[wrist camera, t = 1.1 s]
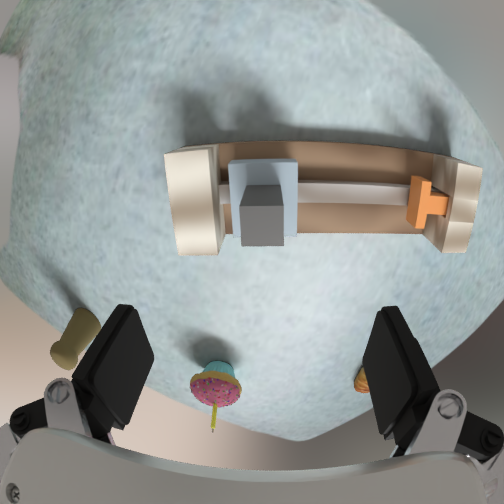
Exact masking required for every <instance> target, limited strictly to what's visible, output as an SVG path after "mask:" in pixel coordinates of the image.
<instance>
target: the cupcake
mask: <svg viewBox="0 0 504 504" xmlns="http://www.w3.org/2000/svg"><path fill="white" fill-rule="evenodd" d="M190 388H191V393H193V394H194V396H195V397H196V399H198V400H199V401H200V402H202V403H205V404H206V405H209V406H213V412H212V422H211V428H212V433H213V431H214V428H215V423H216V413H217V407H222V406H223V407H224V406H228V405H230V404H231V405H232V404H233V403H235V402H236V401H238V398H240V394H241V391H242V388H241V385H240V384H239V382H238V380H237V379H236V378H235V375H234V370H233V368H232V367H231V366H230V365H229V364H227V363H225V362H221V361H213V362H210V363H209V364H208V365H207V366H206V367H205V369H204V370H203V372H202V373H200V374H195V375H194V376H193V377H192V379H191V381H190Z"/></svg>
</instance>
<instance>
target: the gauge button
mask: <svg viewBox="0 0 504 504" xmlns="http://www.w3.org/2000/svg"><path fill="white" fill-rule="evenodd" d="M431 184H432V182H431V181H429V180H427V179H425V178H423V177H421V176H411V185H410V194H409V201H408V208H407V215H406V220H407V221H408V222H409V223H410V224H411V225H412V226H413V227H414V228H419V229H424V227H425V222H426V217H427V214H437V215H446V213H447V208H448V202H449V196H450V195H448V194H446V193H437V192H431Z"/></svg>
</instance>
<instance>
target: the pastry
mask: <svg viewBox="0 0 504 504" xmlns="http://www.w3.org/2000/svg"><path fill="white" fill-rule="evenodd" d="M354 388H355V390H356V391H357V392H361V393H368V392H370V391H369V387H368V383H367V379H366V376H365V372H364V368H363V367H362V368H361V370H360V372H359V373H358V375H357V377H356V379H355V381H354Z"/></svg>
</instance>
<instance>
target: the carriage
mask: <svg viewBox="0 0 504 504" xmlns="http://www.w3.org/2000/svg"><path fill="white" fill-rule="evenodd" d="M228 171H229V186H230V200H231V213H232V227H233V237H241V244H242V246H284V237H296V236H297V203H298V162H297V161H296V159H243V160H231V161H230V162H229V164H228Z"/></svg>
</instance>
